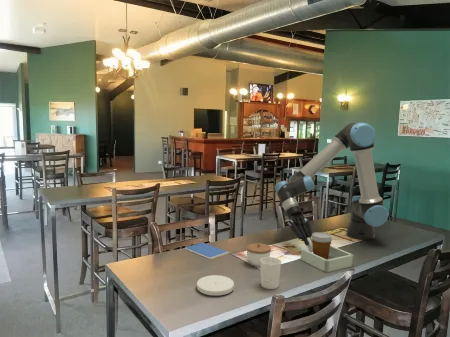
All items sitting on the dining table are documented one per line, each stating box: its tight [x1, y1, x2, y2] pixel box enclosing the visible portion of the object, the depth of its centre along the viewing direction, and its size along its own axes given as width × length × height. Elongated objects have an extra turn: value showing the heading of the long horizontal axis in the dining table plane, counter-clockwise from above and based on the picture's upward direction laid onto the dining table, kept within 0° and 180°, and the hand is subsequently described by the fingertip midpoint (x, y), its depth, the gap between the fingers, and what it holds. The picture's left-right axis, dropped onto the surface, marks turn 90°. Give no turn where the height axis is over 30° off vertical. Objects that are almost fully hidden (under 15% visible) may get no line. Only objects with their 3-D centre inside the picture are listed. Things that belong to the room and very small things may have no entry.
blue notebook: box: [184, 242, 229, 260], centre depth 175 cm, size 19×13×1 cm, turn 45°
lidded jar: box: [246, 242, 272, 267], centre depth 159 cm, size 11×11×9 cm
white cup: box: [259, 256, 282, 290], centre depth 138 cm, size 8×8×10 cm
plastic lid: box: [196, 274, 235, 297], centre depth 135 cm, size 14×14×2 cm
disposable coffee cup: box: [311, 231, 333, 260], centre depth 165 cm, size 10×10×12 cm
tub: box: [300, 245, 355, 273], centre depth 163 cm, size 16×16×5 cm
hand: (312, 251), depth 169 cm, fingers closed
